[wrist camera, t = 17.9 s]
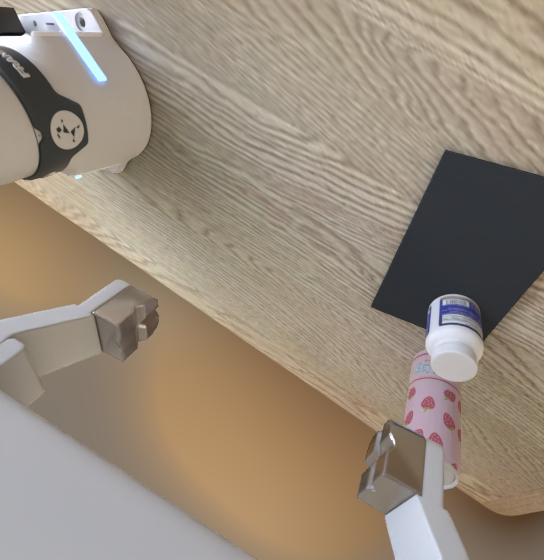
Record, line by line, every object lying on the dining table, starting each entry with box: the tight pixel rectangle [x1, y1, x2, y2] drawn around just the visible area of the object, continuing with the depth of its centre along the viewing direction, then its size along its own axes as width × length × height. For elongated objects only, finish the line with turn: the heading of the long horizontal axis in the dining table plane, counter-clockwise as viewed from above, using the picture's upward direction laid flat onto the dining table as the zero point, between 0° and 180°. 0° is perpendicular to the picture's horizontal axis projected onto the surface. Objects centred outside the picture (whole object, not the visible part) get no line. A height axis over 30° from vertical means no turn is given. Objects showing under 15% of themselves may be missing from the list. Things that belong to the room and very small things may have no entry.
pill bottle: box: [425, 294, 484, 382], centre depth 35 cm, size 5×5×9 cm
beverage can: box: [403, 350, 461, 489], centre depth 38 cm, size 6×6×15 cm
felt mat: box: [371, 150, 544, 341], centre depth 35 cm, size 13×20×1 cm, turn 171°
